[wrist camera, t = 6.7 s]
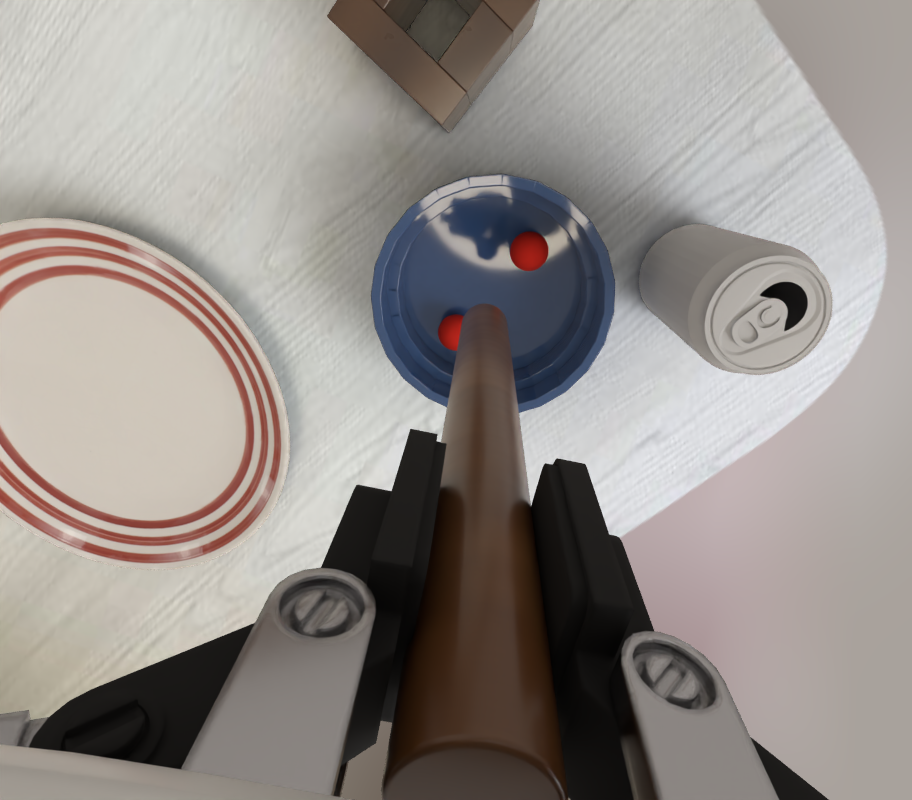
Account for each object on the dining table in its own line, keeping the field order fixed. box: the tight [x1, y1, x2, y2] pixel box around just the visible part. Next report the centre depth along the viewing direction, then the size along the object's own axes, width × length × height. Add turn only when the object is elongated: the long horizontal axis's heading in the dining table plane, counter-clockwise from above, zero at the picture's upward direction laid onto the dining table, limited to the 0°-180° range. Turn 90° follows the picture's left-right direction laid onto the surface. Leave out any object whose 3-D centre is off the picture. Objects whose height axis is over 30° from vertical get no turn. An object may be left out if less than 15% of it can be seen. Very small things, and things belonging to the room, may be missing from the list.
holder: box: [327, 0, 540, 133], centre depth 29 cm, size 7×7×6 cm
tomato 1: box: [438, 314, 464, 351], centre depth 37 cm, size 2×2×2 cm
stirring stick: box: [381, 304, 568, 800], centre depth 15 cm, size 2×2×20 cm
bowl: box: [371, 174, 615, 413], centre depth 35 cm, size 14×14×6 cm
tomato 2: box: [510, 231, 549, 271], centre depth 35 cm, size 2×2×2 cm
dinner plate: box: [0, 218, 290, 570], centre depth 41 cm, size 27×27×3 cm
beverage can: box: [639, 224, 832, 375], centre depth 31 cm, size 6×6×12 cm
